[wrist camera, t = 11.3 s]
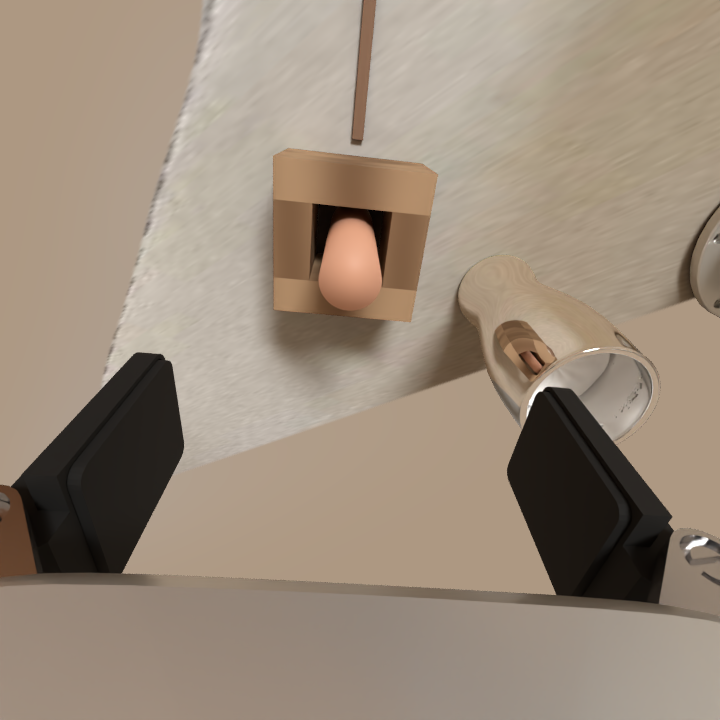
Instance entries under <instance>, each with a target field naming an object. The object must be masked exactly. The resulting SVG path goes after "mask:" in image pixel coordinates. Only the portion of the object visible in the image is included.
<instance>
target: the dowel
mask: <svg viewBox="0 0 720 720" xmlns="http://www.w3.org/2000/svg"><path fill="white" fill-rule="evenodd" d="M381 286H382V275H381V269H380V264H379V258H378V252H377V246H376V240H375V234H374V229H373V223H372V218H371V215H370V213H369V211H368V210H367V209H361V208H352V207H342V206H339V207H338V208H337V209H336V210H335V211H334V213H333V215H332V219H331V223H330V227H329V232H328V237H327V241H326V246H325V250H324V255H323V259H322V264H321V268H320V273H319V287H320V291H321V293H322V295H323V296H324V298H325V299H326V300H327V301H328V302H329V303H330V304H331V305H333V306H334V307H336V308H339V309H342V310H347V311H354V310H360V309H362V308H365V307H367V306H368V305H370V304H371V303H372V302H373V301H374V300H375V299H376V298H377V296H378V294H379V292H380V290H381Z"/></svg>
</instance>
